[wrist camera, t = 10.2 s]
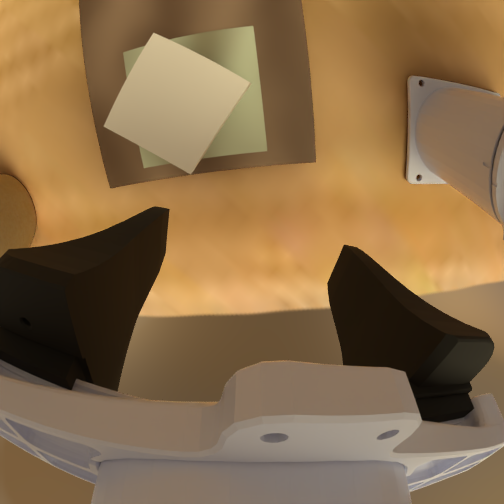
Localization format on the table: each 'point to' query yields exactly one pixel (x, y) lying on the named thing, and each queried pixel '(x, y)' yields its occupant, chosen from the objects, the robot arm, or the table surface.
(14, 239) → the plant pot
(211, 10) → the post board
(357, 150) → the table surface
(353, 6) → the table surface
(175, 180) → the table surface
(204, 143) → the beige stacked cube
